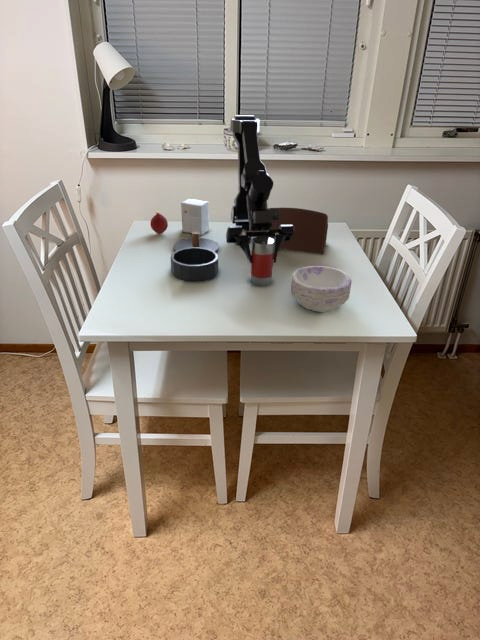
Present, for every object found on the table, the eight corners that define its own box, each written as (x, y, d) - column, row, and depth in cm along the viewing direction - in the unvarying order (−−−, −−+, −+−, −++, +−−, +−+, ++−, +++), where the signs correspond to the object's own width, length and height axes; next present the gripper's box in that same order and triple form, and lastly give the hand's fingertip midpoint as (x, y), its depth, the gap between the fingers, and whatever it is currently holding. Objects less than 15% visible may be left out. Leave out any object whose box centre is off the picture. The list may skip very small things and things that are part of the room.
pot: (184, 259, 151) (183, 244, 148) (224, 266, 147) (225, 251, 145) (163, 277, 140) (162, 261, 137) (206, 285, 136) (206, 269, 133)
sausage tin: (254, 275, 142) (256, 235, 136) (274, 279, 141) (277, 238, 134) (247, 284, 137) (248, 242, 131) (268, 288, 136) (270, 246, 129)
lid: (185, 238, 166) (185, 222, 164) (225, 244, 162) (225, 228, 159) (165, 253, 155) (164, 236, 152) (207, 261, 150) (207, 244, 148)
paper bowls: (313, 285, 138) (316, 259, 134) (358, 304, 129) (363, 277, 125) (277, 302, 129) (279, 275, 124) (323, 324, 119) (327, 296, 115)
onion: (169, 231, 171) (168, 209, 167) (166, 237, 166) (164, 215, 162) (153, 230, 172) (152, 208, 168) (149, 236, 167) (147, 214, 163)
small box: (209, 230, 173) (209, 201, 168) (201, 235, 169) (201, 205, 164) (189, 226, 176) (188, 198, 171) (181, 231, 172) (180, 202, 166)
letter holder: (323, 254, 157) (328, 212, 150) (263, 247, 161) (265, 206, 154) (326, 243, 165) (331, 202, 158) (268, 237, 169) (271, 197, 162)
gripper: (227, 197, 129) (232, 252, 125) (296, 196, 132) (303, 250, 128) (224, 216, 140) (228, 267, 136) (287, 215, 142) (293, 265, 139)
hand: (263, 262), depth 134 cm, fingers open, 6 cm apart
